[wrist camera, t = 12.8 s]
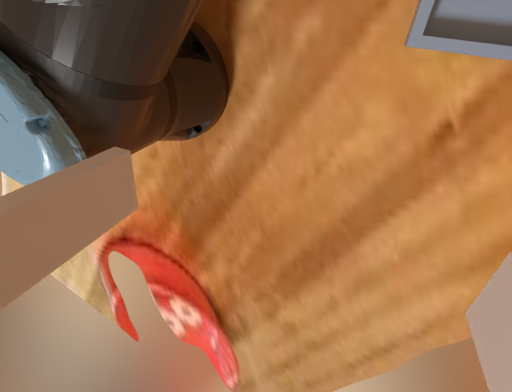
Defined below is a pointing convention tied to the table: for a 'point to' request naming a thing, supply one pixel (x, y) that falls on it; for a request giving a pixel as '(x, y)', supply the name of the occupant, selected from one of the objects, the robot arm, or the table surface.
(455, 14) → the tray
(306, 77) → the table surface
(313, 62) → the table surface
